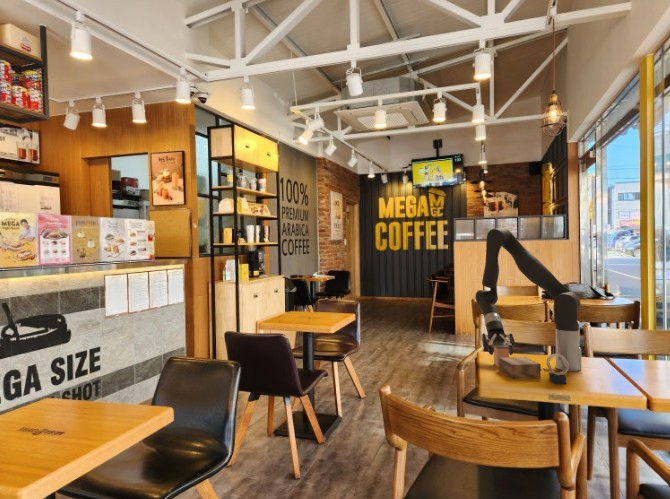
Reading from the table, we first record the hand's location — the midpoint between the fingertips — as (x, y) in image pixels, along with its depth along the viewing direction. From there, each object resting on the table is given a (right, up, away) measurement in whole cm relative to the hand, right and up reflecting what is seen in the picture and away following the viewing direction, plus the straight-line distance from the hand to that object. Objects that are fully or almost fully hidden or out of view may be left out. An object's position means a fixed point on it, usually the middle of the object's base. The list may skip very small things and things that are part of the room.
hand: (501, 354), depth 205 cm
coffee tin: (0, -5, +1) cm, 5 cm away
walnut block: (+3, -6, -13) cm, 15 cm away
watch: (+13, -5, -25) cm, 29 cm away
